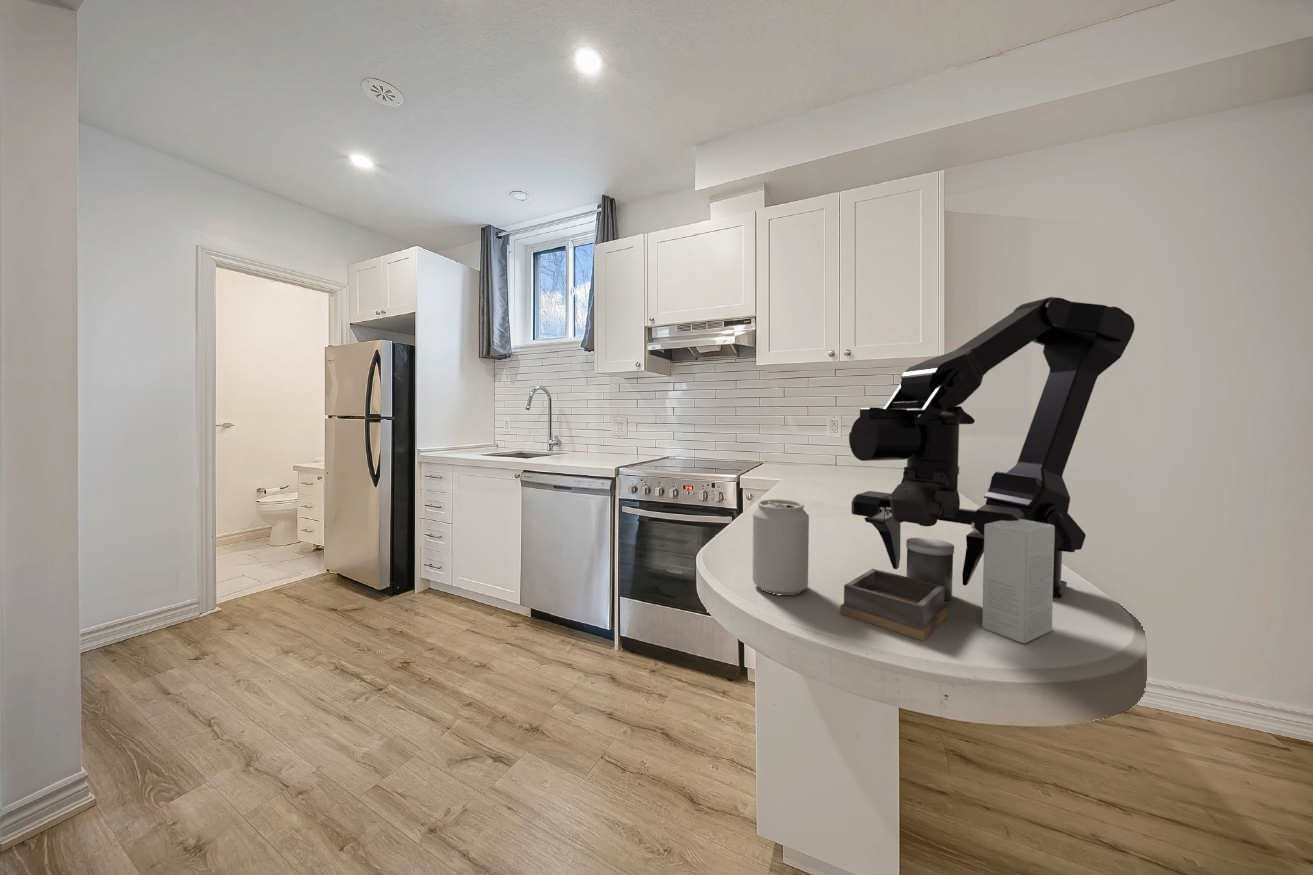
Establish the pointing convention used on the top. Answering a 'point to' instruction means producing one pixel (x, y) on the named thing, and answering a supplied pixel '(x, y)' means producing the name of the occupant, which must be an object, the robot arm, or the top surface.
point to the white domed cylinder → (931, 562)
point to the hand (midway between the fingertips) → (928, 576)
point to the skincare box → (1018, 579)
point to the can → (780, 546)
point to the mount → (895, 603)
